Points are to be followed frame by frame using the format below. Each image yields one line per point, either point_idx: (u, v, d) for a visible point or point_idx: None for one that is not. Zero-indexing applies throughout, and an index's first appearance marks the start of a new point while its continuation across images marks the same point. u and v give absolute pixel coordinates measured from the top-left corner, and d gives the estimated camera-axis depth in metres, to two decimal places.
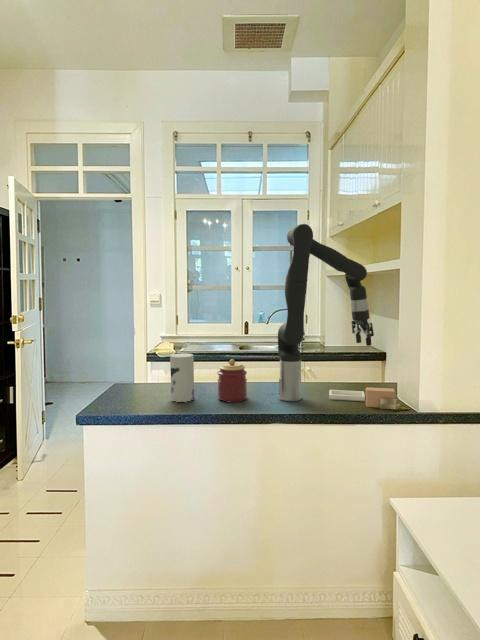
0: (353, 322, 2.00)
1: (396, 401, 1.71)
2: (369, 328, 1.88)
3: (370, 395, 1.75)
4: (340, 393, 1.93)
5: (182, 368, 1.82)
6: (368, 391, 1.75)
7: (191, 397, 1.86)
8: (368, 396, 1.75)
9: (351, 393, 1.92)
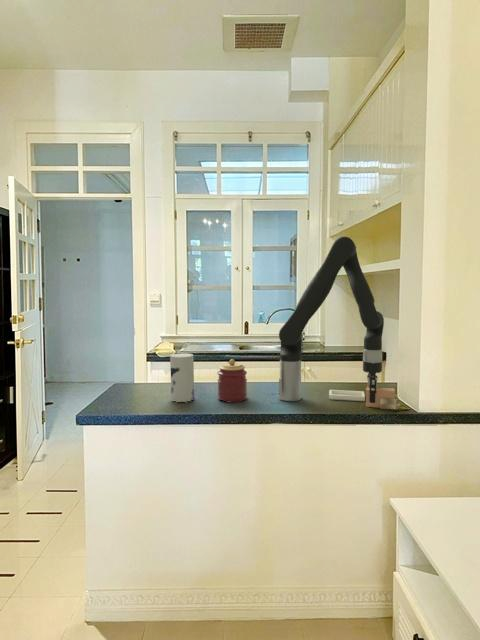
0: (369, 374, 1.82)
1: (396, 401, 1.71)
2: (372, 385, 1.70)
3: (369, 394, 1.75)
4: (340, 393, 1.93)
5: (182, 368, 1.82)
6: (368, 391, 1.75)
7: (191, 397, 1.86)
8: (367, 395, 1.75)
9: (351, 393, 1.92)
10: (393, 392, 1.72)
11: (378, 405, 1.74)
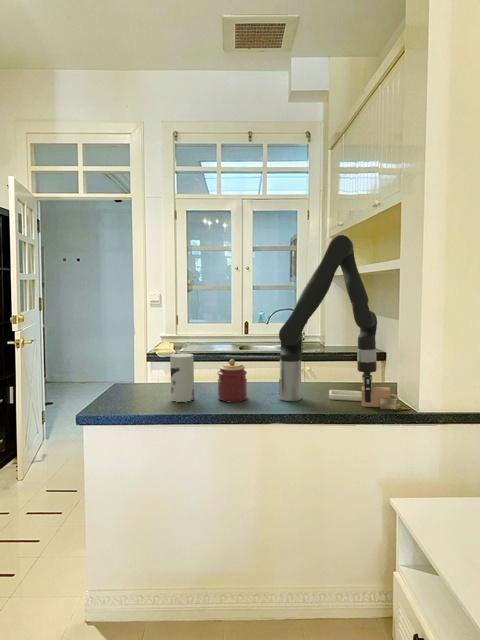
0: (364, 374, 1.82)
1: (396, 401, 1.71)
2: (366, 385, 1.71)
3: None
4: (340, 393, 1.93)
5: (182, 368, 1.82)
6: (363, 390, 1.75)
7: (191, 397, 1.86)
8: (363, 395, 1.75)
9: (351, 393, 1.92)
10: (388, 391, 1.72)
11: (374, 404, 1.74)
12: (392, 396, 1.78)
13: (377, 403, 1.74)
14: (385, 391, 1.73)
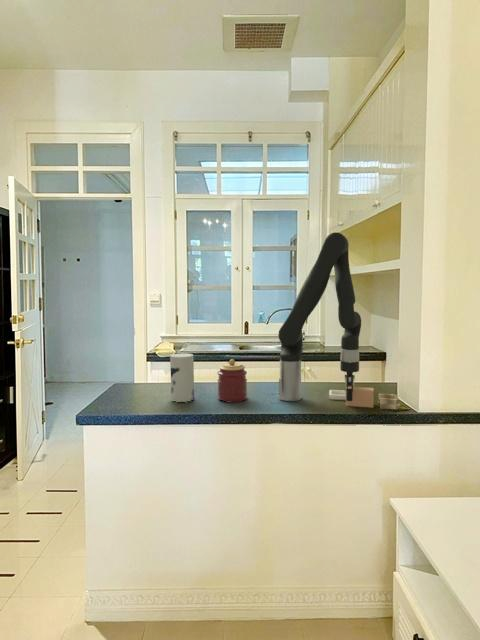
0: None
1: (396, 401, 1.71)
2: (348, 382, 1.72)
3: None
4: (340, 393, 1.93)
5: (182, 368, 1.82)
6: None
7: (191, 397, 1.86)
8: None
9: None
10: (372, 391, 1.74)
11: (357, 404, 1.76)
12: (392, 396, 1.78)
13: (361, 403, 1.75)
14: (369, 391, 1.74)
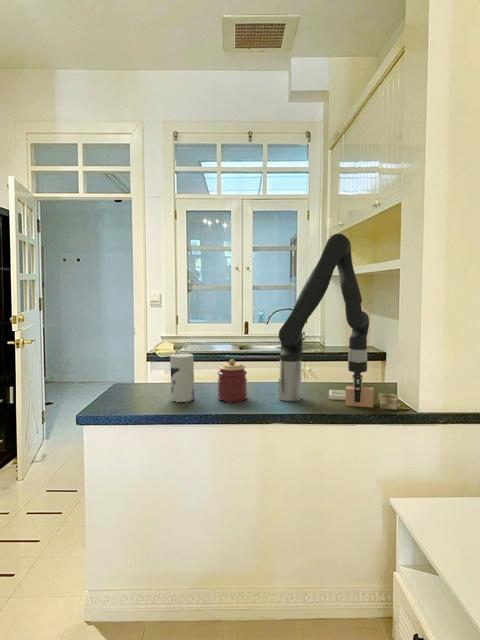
0: (355, 373, 1.83)
1: (396, 401, 1.71)
2: (356, 384, 1.72)
3: (349, 393, 1.77)
4: (340, 393, 1.93)
5: (182, 368, 1.82)
6: (347, 390, 1.77)
7: (191, 397, 1.86)
8: (347, 394, 1.77)
9: None
10: (372, 391, 1.74)
11: (357, 404, 1.76)
12: (392, 396, 1.78)
13: (361, 402, 1.76)
14: (369, 391, 1.74)
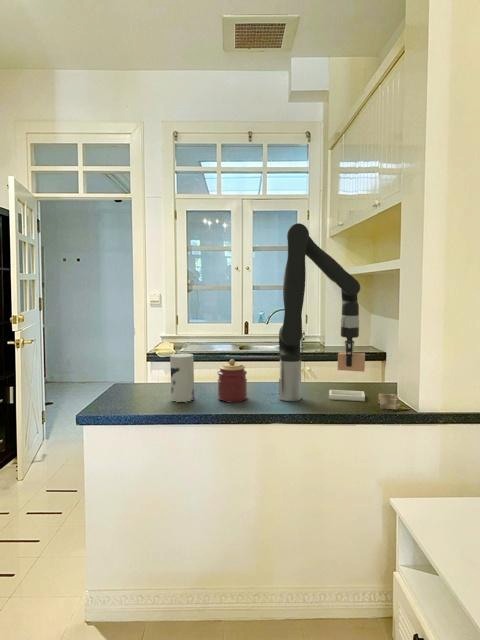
0: None
1: (396, 401, 1.71)
2: (348, 349, 1.78)
3: (341, 358, 1.83)
4: (340, 393, 1.93)
5: (182, 368, 1.82)
6: (339, 355, 1.83)
7: (191, 397, 1.86)
8: (339, 359, 1.84)
9: (351, 393, 1.92)
10: (363, 356, 1.80)
11: (349, 368, 1.83)
12: (392, 396, 1.78)
13: (352, 367, 1.82)
14: (360, 356, 1.81)
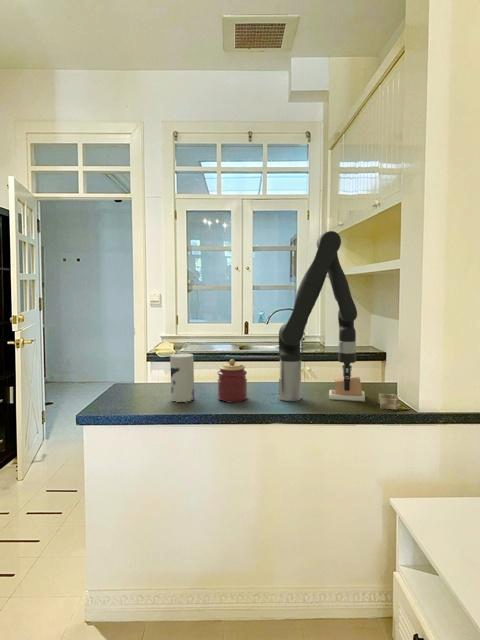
0: None
1: (396, 401, 1.71)
2: (346, 373, 1.82)
3: (338, 386, 1.87)
4: None
5: (182, 368, 1.82)
6: (335, 382, 1.87)
7: (191, 397, 1.86)
8: (336, 387, 1.88)
9: None
10: (358, 380, 1.85)
11: (347, 394, 1.87)
12: (392, 396, 1.78)
13: (350, 392, 1.86)
14: (356, 381, 1.85)
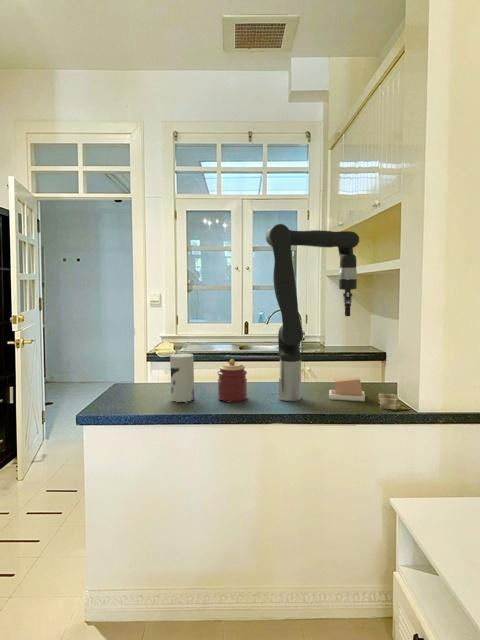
0: None
1: (396, 401, 1.71)
2: (346, 297, 1.82)
3: (338, 386, 1.87)
4: None
5: (182, 368, 1.82)
6: (335, 382, 1.87)
7: (191, 397, 1.86)
8: (336, 387, 1.88)
9: None
10: (358, 380, 1.85)
11: (347, 394, 1.87)
12: (392, 396, 1.78)
13: (350, 392, 1.86)
14: (356, 381, 1.85)
